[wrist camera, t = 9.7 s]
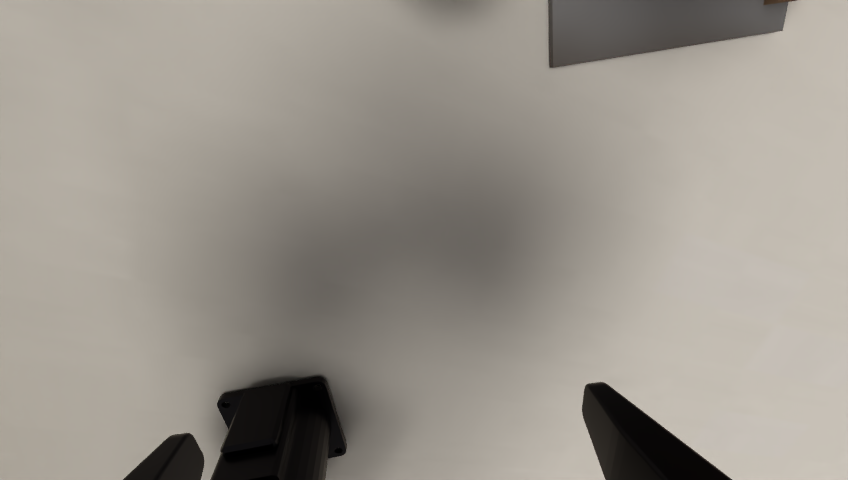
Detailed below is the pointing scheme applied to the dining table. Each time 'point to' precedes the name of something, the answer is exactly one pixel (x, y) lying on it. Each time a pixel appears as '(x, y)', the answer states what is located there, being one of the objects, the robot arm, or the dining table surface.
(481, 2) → the dining table surface
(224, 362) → the dining table surface
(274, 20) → the dining table surface
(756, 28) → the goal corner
